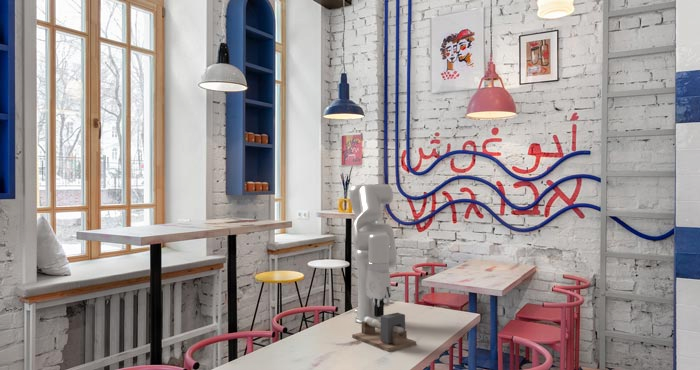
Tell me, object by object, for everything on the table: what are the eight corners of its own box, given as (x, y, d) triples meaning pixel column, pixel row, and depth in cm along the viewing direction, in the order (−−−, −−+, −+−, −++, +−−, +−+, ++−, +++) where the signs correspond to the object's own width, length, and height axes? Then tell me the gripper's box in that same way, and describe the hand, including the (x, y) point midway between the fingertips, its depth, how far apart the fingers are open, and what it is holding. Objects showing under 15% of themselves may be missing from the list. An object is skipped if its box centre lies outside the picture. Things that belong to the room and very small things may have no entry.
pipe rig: (352, 337, 188) (352, 318, 188) (379, 331, 195) (379, 313, 195) (388, 351, 171) (387, 330, 171) (416, 344, 178) (415, 324, 178)
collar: (380, 341, 178) (380, 315, 178) (397, 337, 183) (397, 312, 183) (388, 343, 175) (387, 318, 175) (405, 339, 179) (404, 314, 179)
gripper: (358, 265, 190) (359, 313, 190) (383, 271, 177) (384, 322, 178) (374, 263, 194) (374, 310, 194) (399, 268, 182) (399, 319, 182)
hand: (379, 316), depth 186 cm, fingers closed
